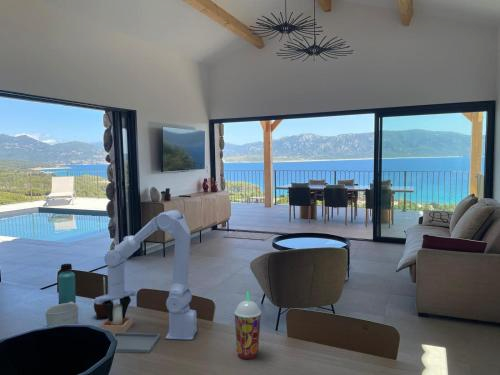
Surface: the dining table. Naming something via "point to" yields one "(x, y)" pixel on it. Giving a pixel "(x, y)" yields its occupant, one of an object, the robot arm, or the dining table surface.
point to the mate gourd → (101, 307)
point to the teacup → (62, 314)
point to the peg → (117, 315)
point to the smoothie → (247, 328)
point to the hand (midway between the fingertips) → (116, 319)
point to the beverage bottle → (66, 285)
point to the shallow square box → (118, 328)
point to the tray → (136, 342)
